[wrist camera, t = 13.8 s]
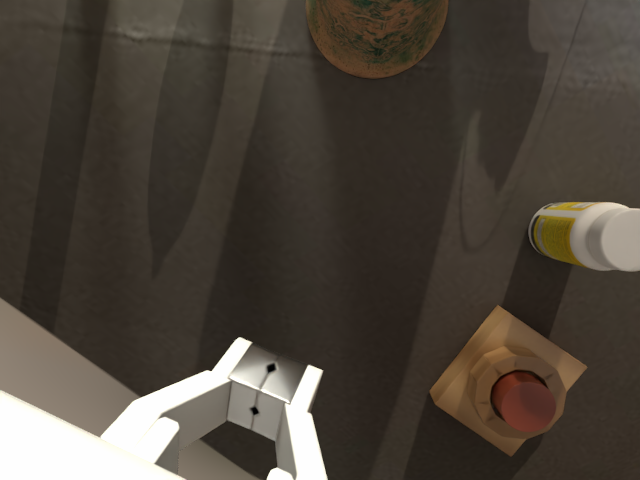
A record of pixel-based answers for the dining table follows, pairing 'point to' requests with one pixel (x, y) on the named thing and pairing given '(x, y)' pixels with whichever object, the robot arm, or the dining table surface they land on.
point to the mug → (375, 33)
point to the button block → (493, 363)
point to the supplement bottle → (588, 234)
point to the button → (524, 401)
